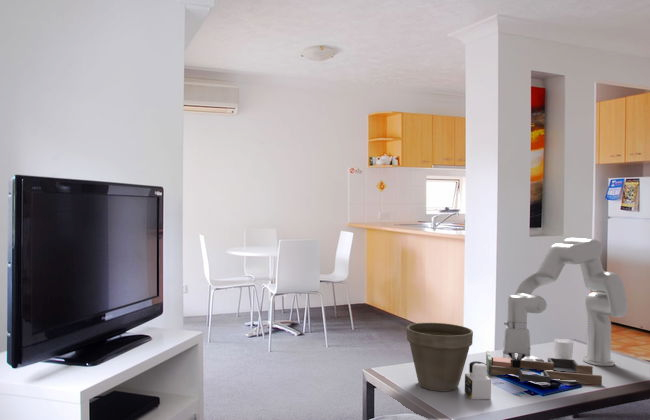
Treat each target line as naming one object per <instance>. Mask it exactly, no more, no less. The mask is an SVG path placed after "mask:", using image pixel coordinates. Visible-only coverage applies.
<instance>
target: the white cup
mask: <svg viewBox="0 0 650 420" xmlns="http://www.w3.org/2000/svg"><path fill="white" fill-rule="evenodd" d="M553 346H554V347H553V348H554V349H553V350H554V351H553V352H554V358H557V359H569V360H573V359H572V358H573V353H574V341H573V340H570V339H567V338H555V339H553Z"/></svg>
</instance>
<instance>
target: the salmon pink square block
mask: <svg viewBox="0 0 650 420" xmlns="http://www.w3.org/2000/svg"><path fill="white" fill-rule="evenodd" d="M493 366H502V367H511V359H510V358H503V357H499V356H498V357H497V356H493Z"/></svg>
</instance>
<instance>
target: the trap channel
mask: <svg viewBox="0 0 650 420" xmlns="http://www.w3.org/2000/svg"><path fill="white" fill-rule="evenodd" d="M485 353H486V354H485V358H486V359H485V360H486V361H485V362H486V363H485V364H486V365H487V375H488V376H497V375H506V374H515V375H519V378H520V381H519V383H520V382H523V381H536V382H548V383H550V384H551V381H550V379H560V380H576V381H578V382H579V383H578V384H582V385H583V384H585V385H595V386H602V384H603V383H602V382H603V376H602V375H598V374H593V372H594V371H593V369H594V367H593V365H584V364H579V363H578V362H576V360H575V359H572V360H569V359H557V358H555V357H547V361H544V362H540V361H528V360H521V361H520V368H526V369H525V370H529V369H537V370H536V371H540V370H544V371H543V375H539V374H538V375H537V374H525V373H523V371H522V369H520V368H514V367H512V359H511V367H502V366H493V357H494V356H493V357H492V356H491V353H490V350H489V351H488V350H487V351H486V352H485ZM546 370H553V371H546ZM554 370H556V371H554ZM560 371H565V372H560Z"/></svg>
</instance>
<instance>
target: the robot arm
mask: <svg viewBox="0 0 650 420" xmlns="http://www.w3.org/2000/svg"><path fill="white" fill-rule="evenodd" d="M603 250H604V247H603V244H602V243H601V242H600V240H598V239H595V238H586V237H585V238H583V237H568V238H565V239H564V241H563V242H562V243H561V242H560V243H559V242H558V243H554V244H552V245H550V247H549V248H548V250H547V252H546V253H545V255H544V258H543V259H542V262H541V263H540V264H539V267H538V268H537V270H536V271H535V272H533V273H531V274H530V275H528V276H527V277H526V278H525V279H523V281H521V283H519V286H518V287H517V289H516V291H515V293H514V294H511V295H509V296H508V298H507V299H508V300H507V320H506V321H503V325H505V326H506V327H505V330H504V337H503V350H502V354H503V353H504V354H506V355H509V356H510V357H511V358H512V367H514V368H520V361H521V359H522V358H524V357H526V356H530V355H531V337H530V335H531V334H530V331H529V329H528V328H527V327H528V326H527V325H528V314H542V313H543V312H544V311H546V310H547V309H546V308H547V305H548V304H547V301H546V299H545V298H544V297H542V296H540V295H537V294H533V292H534V291H535V290H536V289H538V288H540V287H542V286H545V285H549V284H551V283H555V282H556V281H557V280H558V278H559V277H560V274H561V272H562V271H563V269H564V267H565V266H566V265H567V264H568V265H580V270H581V272H582V277H583V282H584V286H585V287H586V289H587V290H589V291H593V292H590V293H589V294H588V295H587V296H586V297H585V309H586V310H585V311H586V314H587V328H586V329H587V330H586V332H587V336H586V355H585V356H583V357H582V361H583V362H584V363H587V364H590V365H592V366H593V365H594V366H599V367H611V366H612V367H613V366H614V365H615V361H614V360H612V359H611V358H612V357H611V356H612V354H611V353H612V322H611V319H610V317H613V318H622V317H624V316H626V314H627V313H628V311H629V309H628V308H629V305H628V299H627V294H626V289H625V284H624V281H623V279H622V277H621V275H619V274H617V273H616V272H612V271H605V270H604V267H603V265H602V261H601V260H602V259H600V257H601V255H602V254H603ZM515 353H517V354H518V357H517V359H516V358H515Z"/></svg>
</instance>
